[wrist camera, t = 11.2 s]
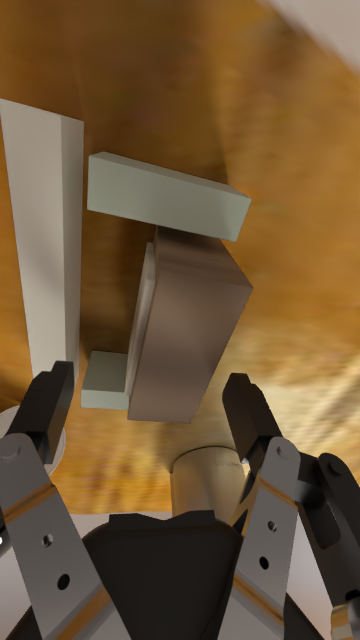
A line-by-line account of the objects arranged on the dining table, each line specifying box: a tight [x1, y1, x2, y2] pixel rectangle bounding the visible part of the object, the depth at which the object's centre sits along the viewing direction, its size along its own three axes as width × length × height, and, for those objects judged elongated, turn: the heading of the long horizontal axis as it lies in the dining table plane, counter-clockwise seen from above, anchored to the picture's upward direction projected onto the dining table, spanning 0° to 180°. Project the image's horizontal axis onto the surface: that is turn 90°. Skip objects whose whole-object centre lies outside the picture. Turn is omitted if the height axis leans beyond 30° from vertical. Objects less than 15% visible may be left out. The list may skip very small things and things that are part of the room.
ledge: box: [0, 98, 251, 410], centre depth 16 cm, size 18×10×4 cm, turn 166°
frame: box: [124, 225, 253, 424], centre depth 16 cm, size 10×4×7 cm, turn 166°
